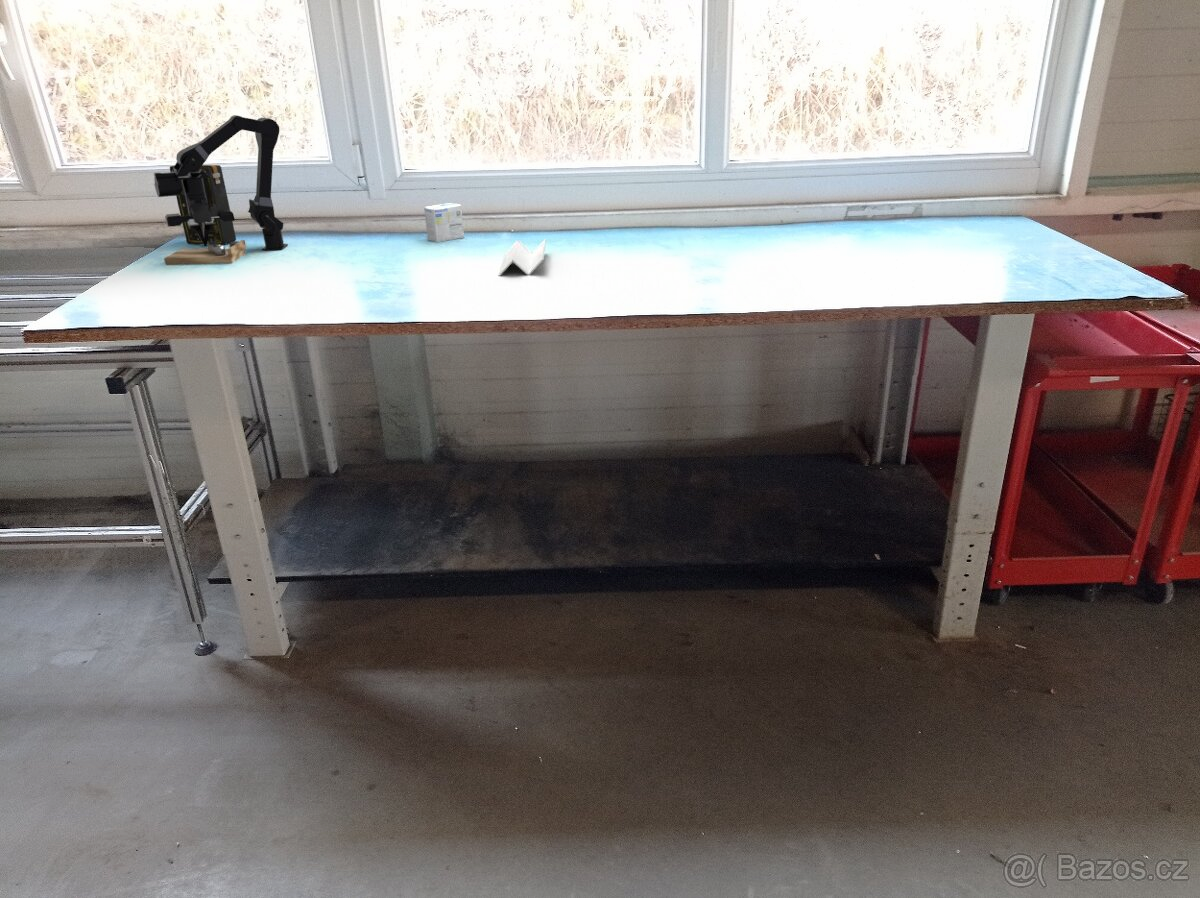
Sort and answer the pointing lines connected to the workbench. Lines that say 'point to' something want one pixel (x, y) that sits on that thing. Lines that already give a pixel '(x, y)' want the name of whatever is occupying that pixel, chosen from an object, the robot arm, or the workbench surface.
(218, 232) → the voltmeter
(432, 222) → the light bulb box
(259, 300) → the workbench surface
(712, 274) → the workbench surface
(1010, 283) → the workbench surface
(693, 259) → the workbench surface
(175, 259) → the door board
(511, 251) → the z bracket
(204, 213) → the robot arm
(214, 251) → the bar
